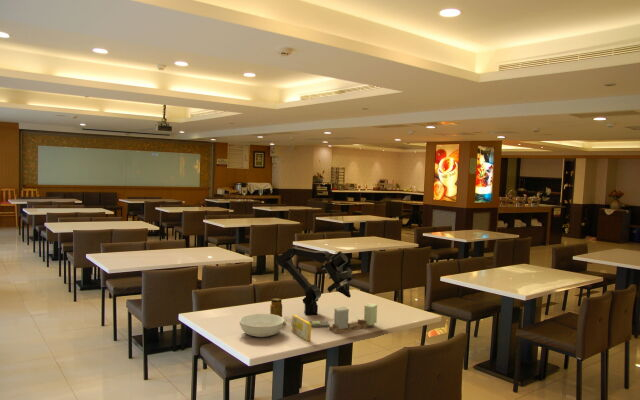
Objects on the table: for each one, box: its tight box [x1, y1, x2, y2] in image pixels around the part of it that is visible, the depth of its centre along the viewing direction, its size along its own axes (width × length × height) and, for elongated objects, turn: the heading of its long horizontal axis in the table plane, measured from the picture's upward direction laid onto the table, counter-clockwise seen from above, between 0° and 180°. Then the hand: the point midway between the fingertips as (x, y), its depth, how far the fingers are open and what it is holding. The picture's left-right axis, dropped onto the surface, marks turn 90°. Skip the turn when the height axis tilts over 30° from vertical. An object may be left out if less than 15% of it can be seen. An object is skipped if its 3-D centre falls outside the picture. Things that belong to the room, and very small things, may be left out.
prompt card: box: [308, 320, 331, 329], centre depth 244 cm, size 10×7×2 cm
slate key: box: [333, 306, 350, 329], centre depth 235 cm, size 4×6×9 cm
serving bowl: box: [239, 313, 285, 338], centre depth 229 cm, size 21×21×7 cm
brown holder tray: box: [328, 318, 372, 334], centre depth 241 cm, size 25×9×4 cm, turn 127°
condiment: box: [269, 297, 287, 325], centre depth 248 cm, size 7×8×12 cm
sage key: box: [363, 302, 378, 326], centre depth 243 cm, size 4×6×9 cm
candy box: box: [291, 314, 312, 342], centre depth 227 cm, size 16×2×8 cm, turn 30°
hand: (349, 297), depth 254 cm, fingers closed
